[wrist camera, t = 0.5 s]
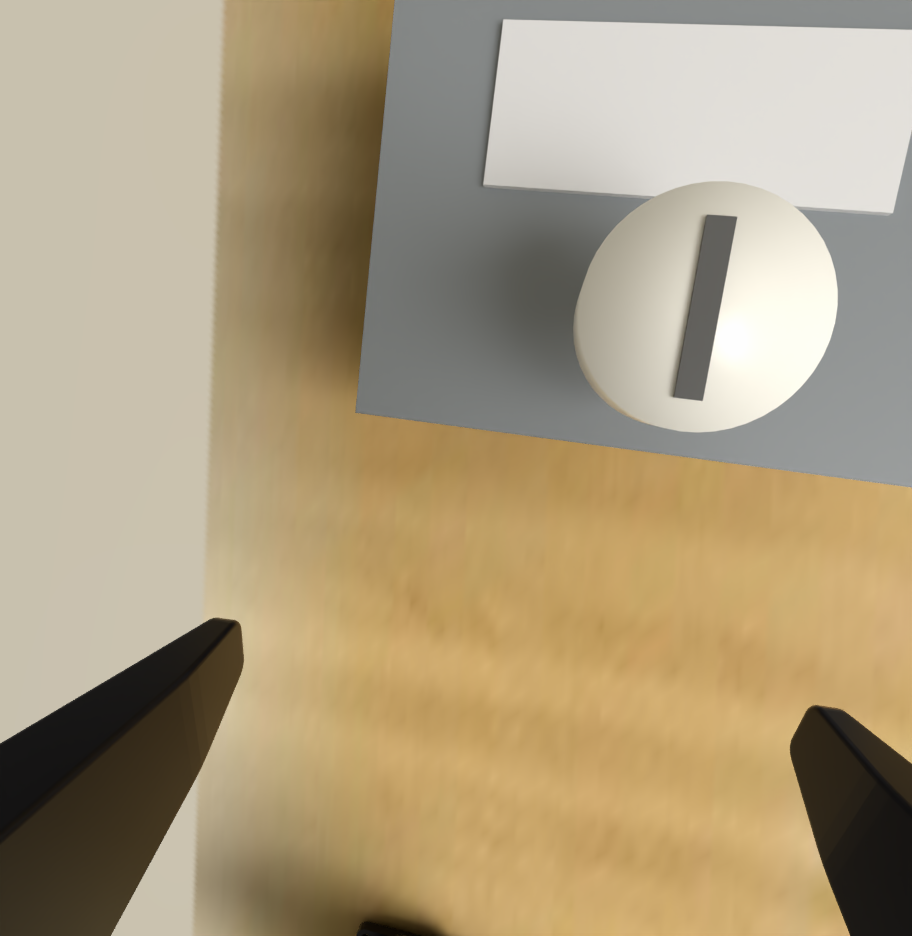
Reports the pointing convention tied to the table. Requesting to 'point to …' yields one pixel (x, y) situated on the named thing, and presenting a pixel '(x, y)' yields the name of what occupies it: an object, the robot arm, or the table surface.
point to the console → (635, 206)
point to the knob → (706, 308)
